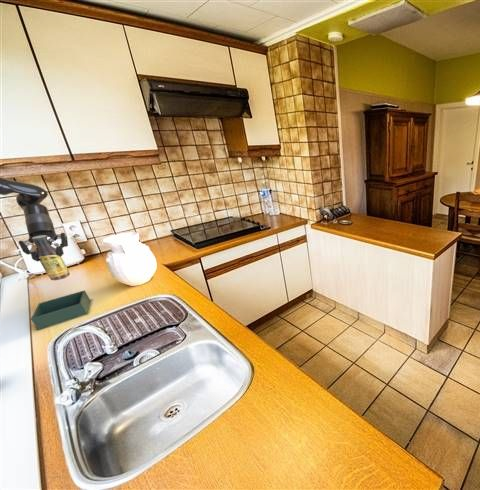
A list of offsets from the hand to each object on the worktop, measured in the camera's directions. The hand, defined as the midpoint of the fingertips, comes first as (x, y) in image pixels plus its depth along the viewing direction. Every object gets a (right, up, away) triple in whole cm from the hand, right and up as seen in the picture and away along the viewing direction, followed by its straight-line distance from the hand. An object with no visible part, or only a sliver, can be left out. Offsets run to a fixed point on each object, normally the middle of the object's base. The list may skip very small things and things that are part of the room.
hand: (49, 257), depth 114 cm
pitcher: (+19, -13, +24) cm, 33 cm away
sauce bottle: (-1, -9, +5) cm, 11 cm away
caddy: (+7, -24, 0) cm, 25 cm away
